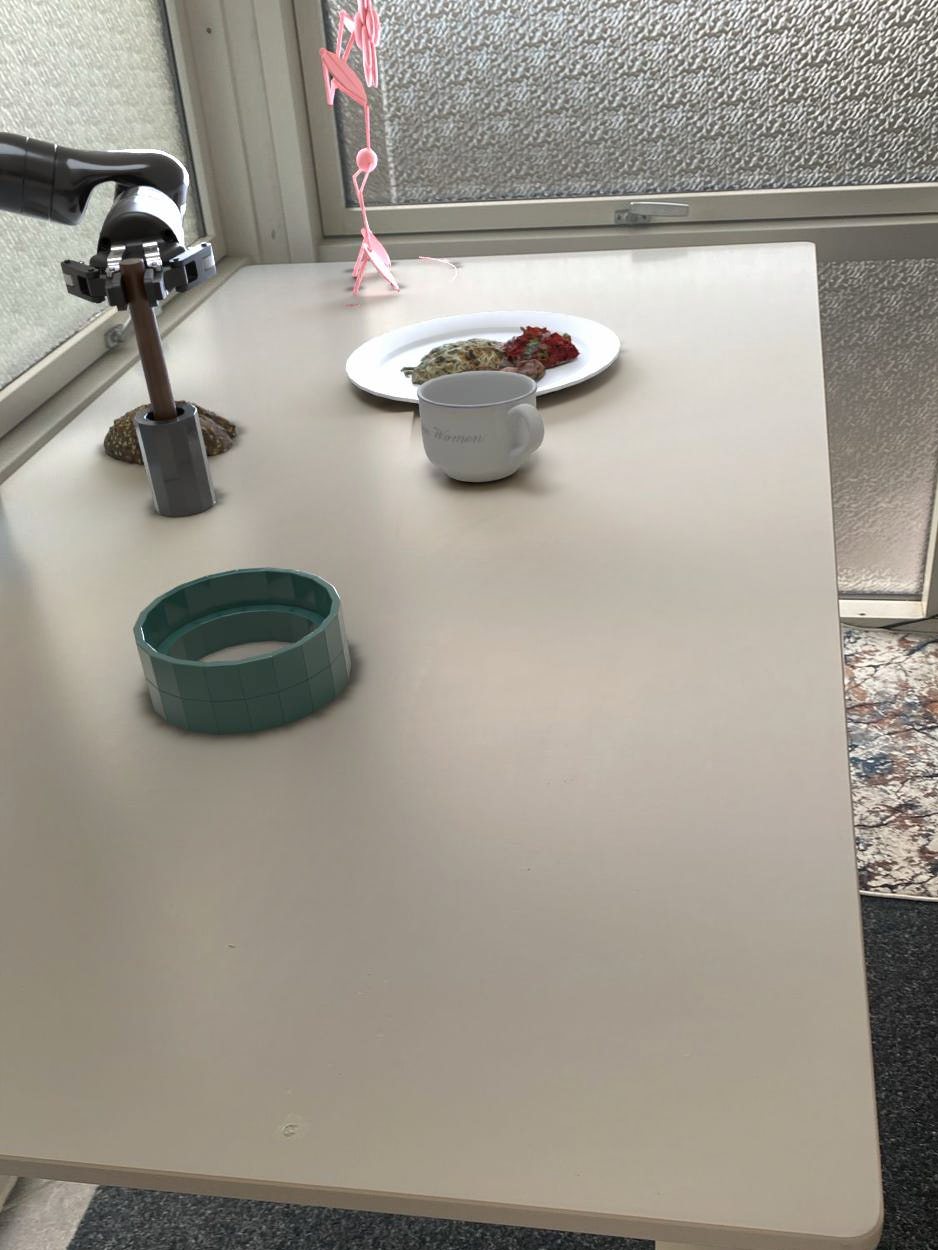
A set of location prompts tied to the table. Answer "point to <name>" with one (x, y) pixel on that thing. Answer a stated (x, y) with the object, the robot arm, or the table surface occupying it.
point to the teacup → (479, 423)
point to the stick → (148, 340)
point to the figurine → (367, 39)
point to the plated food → (484, 351)
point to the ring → (237, 616)
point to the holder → (176, 462)
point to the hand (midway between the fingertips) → (134, 296)
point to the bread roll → (126, 444)
